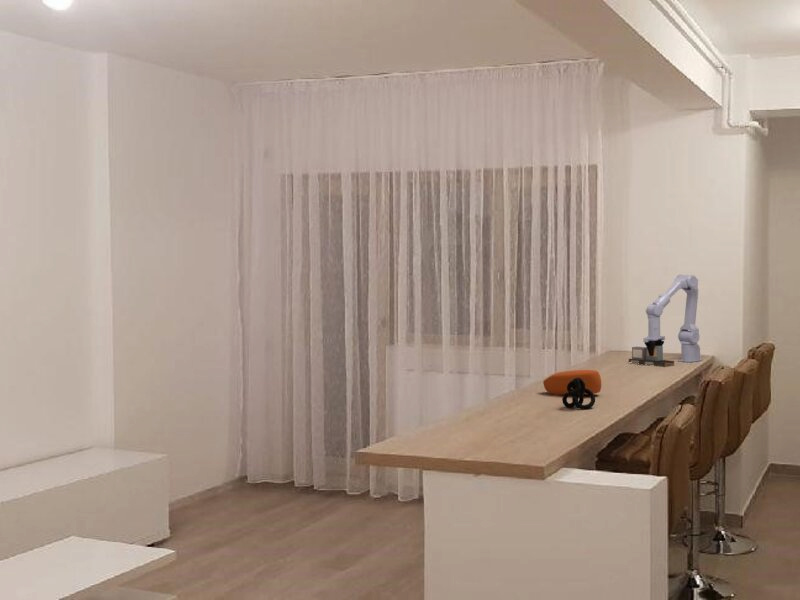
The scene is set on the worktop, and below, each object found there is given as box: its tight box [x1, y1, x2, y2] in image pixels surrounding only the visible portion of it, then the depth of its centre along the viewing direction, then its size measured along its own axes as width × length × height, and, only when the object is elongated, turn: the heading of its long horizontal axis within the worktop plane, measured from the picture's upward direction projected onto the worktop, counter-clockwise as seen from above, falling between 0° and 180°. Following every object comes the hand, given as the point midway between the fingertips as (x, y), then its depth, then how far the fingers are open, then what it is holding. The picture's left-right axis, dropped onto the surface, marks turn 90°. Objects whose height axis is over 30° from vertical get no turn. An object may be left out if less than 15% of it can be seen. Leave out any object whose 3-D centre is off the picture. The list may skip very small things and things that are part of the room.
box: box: [631, 346, 648, 361], centre depth 549 cm, size 4×7×7 cm, turn 39°
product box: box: [646, 345, 664, 361], centre depth 542 cm, size 4×7×7 cm, turn 39°
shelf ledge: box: [628, 358, 675, 368], centre depth 544 cm, size 8×22×2 cm, turn 38°
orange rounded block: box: [542, 369, 602, 396], centre depth 455 cm, size 12×11×25 cm
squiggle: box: [561, 377, 596, 410], centre depth 424 cm, size 11×10×15 cm
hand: (654, 355), depth 542 cm, fingers closed on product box, 4 cm apart
